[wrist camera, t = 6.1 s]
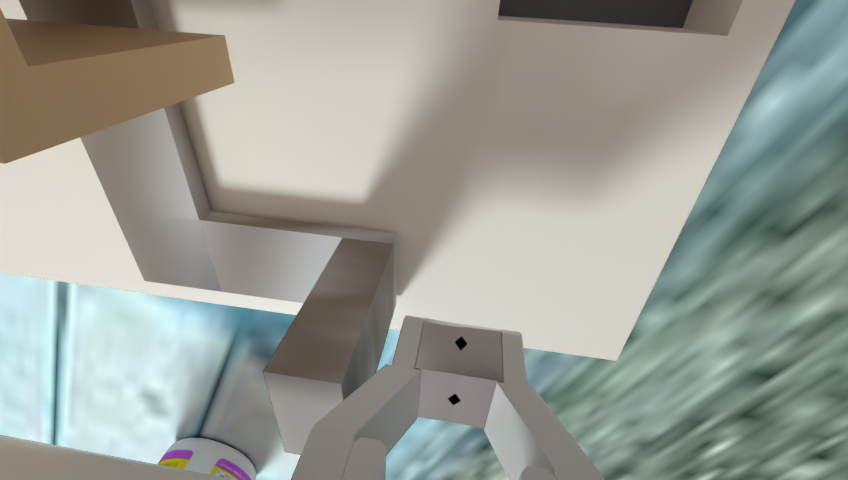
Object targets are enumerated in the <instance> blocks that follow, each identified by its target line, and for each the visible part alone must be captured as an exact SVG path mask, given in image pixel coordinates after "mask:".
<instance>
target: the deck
mask: <svg viewBox="0 0 848 480" xmlns="http://www.w3.org/2000/svg"><path fill="white" fill-rule="evenodd" d="M795 1H796V0H150V3H151V7H152V10H153V14H154V17H155V21H156V24H157V28H158V30H149V29H136V28H124V27H111V26H98V25H85V24H72V23H60V22H47V21H34V20H27V18H26V15H25V13H24V11H23V9H22V6H21V4H20V2H19V0H0V273H5V274H12V275H19V276H26V277H33V278H40V279H47V280H54V281H61V282H68V283H75V284H82V285H89V286H96V287H103V288H110V289H117V290H124V291H131V292H138V293H145V294H152V295H159V296H166V297H173V298H180V299H187V300H194V301H201V302H208V303H215V304H222V305H229V306H236V307H243V308H250V309H257V310H264V311H271V312H278V313H285V314H292V315H297V314H298V312H299V310H300V309H301V307H302V305H303V303H298V302H291V301H284V300H277V299H270V298H263V297H255V296H248V295H241V294H234V293H227V292H220V291H212V290H205V289H198V288H191V287H184V286H177V285H170V284H162V283H155V282H148V281H144V279H143V277H142V275H141V272H140V270H139V268H138V266H137V263H136V261H135V259H134V257H133V254H132V252H131V250H130V248H129V245H128V243H127V241H126V239H125V237H124V234H123V232H122V230H121V228H120V225H119V223H118V221H117V219H116V216H115V214H114V212H113V210H112V207H111V205H110V203H109V201H108V199H107V196H106V194H105V192H104V190H103V187H102V185H101V183H100V181H99V178H98V176H97V174H96V172H95V170H94V167H93V165H92V163H91V161H90V158H89V156H88V154H87V152H86V149H85V147H84V145H83V143H82V140H81V138H80V137H83V136H85V135H88V134H91V133H94V132H97V131H100V130H102V129H105V128H108V127H111V126H114V125H117V124H119V123H122V122H125V121H128V120H131V119H134V118H136V117H139V116H142V115H145V114H148V113H151V112H153V111H156V110H159V109H162V108H165V107H167V106H170V105H173V104H176V103H179V104H180V107H181V111H182V114H183V118H184V121H185V125H186V128H187V132H188V135H189V139H190V142H191V145H192V149H193V152H194V156H195V159H196V163H197V166H198V170H199V173H200V177H201V180H202V184H203V187H204V191H205V194H206V197H207V201H208V204H209V208H210V211H215V212H223V213H231V214H240V215H248V216H256V217H265V218H273V219H281V220H289V221H298V222H306V223H314V224H323V225H331V226H339V227H347V228H356V229H364V230H372V231H381V232H389V233H397V234H398V239H397V293H396V307H395V310H394V314H393V317H392V320H391V324H390V327H389V328H390V329H397V330H401V327H402V324H403V320H404V318H405V316H406V315H408V316H414V317H420V318H428V319H434V320H439V321H445V322H451V323H457V324H465V325H473V326H480V327H487V328H495V329H500V330H501V329H502V330H509V331H517V332H520V333H521V334H522V340H523V347H524V348H531V349H538V350H545V351H552V352H559V353H566V354H573V355H580V356H587V357H594V358H601V359H608V360H615V361H617V359H618V357H619V355H620V353H621V351H622V349H623V347H624V345H625V343H626V341H627V339H628V337H629V335H630V333H631V331H632V329H633V327H634V324H635V322H636V320H637V318H638V316H639V314H640V312H641V310H642V308H643V306H644V304H645V302H646V300H647V298H648V296H649V294H650V292H651V290H652V288H653V286H654V284H655V282H656V280H657V278H658V276H659V274H660V272H661V270H662V268H663V266H664V264H665V262H666V260H667V258H668V256H669V254H670V252H671V250H672V248H673V246H674V244H675V242H676V240H677V238H678V236H679V234H680V232H681V230H682V228H683V226H684V224H685V222H686V220H687V218H688V216H689V214H690V212H691V210H692V208H693V206H694V204H695V202H696V200H697V198H698V196H699V194H700V192H701V190H702V188H703V186H704V184H705V182H706V180H707V178H708V176H709V174H710V172H711V170H712V168H713V166H714V164H715V162H716V160H717V158H718V156H719V154H720V152H721V150H722V148H723V146H724V144H725V142H726V140H727V138H728V136H729V134H730V132H731V130H732V128H733V126H734V124H735V122H736V120H737V118H738V116H739V114H740V111H741V109H742V107H743V105H744V103H745V101H746V99H747V97H748V95H749V93H750V91H751V89H752V87H753V85H754V83H755V81H756V79H757V77H758V75H759V73H760V71H761V69H762V67H763V65H764V63H765V61H766V59H767V57H768V55H769V53H770V51H771V49H772V47H773V45H774V43H775V41H776V39H777V37H778V35H779V33H780V31H781V29H782V27H783V25H784V23H785V21H786V19H787V17H788V15H789V13H790V11H791V9H792V7H793V5H794V3H795Z"/></svg>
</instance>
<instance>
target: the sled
mask: <svg viewBox="0 0 848 480" xmlns="http://www.w3.org/2000/svg"><path fill="white" fill-rule="evenodd" d="M19 2H20V4H21V6H22V9H23V11H24V13H25V15H26V18H27V20H34V21H47V22H60V23H72V24H85V25H98V26H111V27H124V28H136V29H149V30H158V28H157V24H156V21H155V17H154V14H153V10H152V7H151V3H150V0H19ZM80 138H81V140H82V143H83V145H84V147H85V149H86V152H87V154H88V156H89V158H90V161H91V163H92V165H93V167H94V170H95V172H96V174H97V176H98V178H99V181H100V183H101V185H102V187H103V190H104V192H105V194H106V196H107V199H108V201H109V203H110V205H111V207H112V210H113V212H114V214H115V216H116V219H117V221H118V223H119V225H120V228H121V230H122V232H123V234H124V237H125V239H126V241H127V243H128V245H129V248H130V250H131V252H132V254H133V257H134V259H135V261H136V263H137V266H138V268H139V270H140V272H141V275H142V277H143V279H144V281H148V282H155V283H162V284H170V285H177V286H184V287H191V288H198V289H205V290H212V291H220V292H227V293H234V294H241V295H248V296H255V297H263V298H270V299H277V300H284V301H291V302H298V303H303V305H302V307H301V309H300V310H299V312H298V314H297V315H296V317H295V319H294V320H293V322H292V324H291V325H290V327H289V329H288V330H287V332H286V334H285V336H284V337H283V339H282V341H281V342H280V344H279V346H278V347H277V349H276V351H275V352H274V354H273V356H272V357H271V359H270V361H269V362H268V364H267V366H266V368H265V369H264V371H263V374H264V377H265V381H266V384H267V388H268V392H269V395H270V399H271V403H272V406H273V410H274V414H275V417H276V421H277V425H278V428H279V432H280V435H281V439H282V443H283V446H284V450H285V452H287V453H293V454H299V455H301V454H302V451H303V449H304V446H305V444H306V441H307V439H308V437H309V434H310V432H311V429H312V427H313V426H314V425H315V424H316V423H317V422H318V421H320V420H321V419H322V418H323V417H324V416H326V415H327V414H328V413H329V412H330V411H331V410H333V409H334V408H335V407H336V406H337V405H339V404H340V403H341V402H342V401H343V400H344V399H346V398H347V397H348V396H349V395H350V394H352V393H353V392H354V391H355V390H356V389H357V388H359V387H360V386H361V385H362V384H363V383H365V382H366V381H367V380H368V379H369V378H371V377H372V376H373V375H374V374H375V373H376V371H377V368H378V365H379V361H380V358H381V354H382V351H383V348H384V344H385V341H386V337H387V334H388V331H389V327H390V324H391V320H392V317H393V314H394V310H395V307H396V293H397V239H398V234H397V233H389V232H381V231H372V230H364V229H356V228H347V227H339V226H331V225H323V224H314V223H306V222H298V221H289V220H281V219H273V218H265V217H256V216H248V215H240V214H231V213H223V212H215V211H210V208H209V204H208V201H207V197H206V194H205V191H204V187H203V184H202V180H201V177H200V173H199V170H198V166H197V163H196V159H195V156H194V152H193V149H192V145H191V142H190V139H189V135H188V132H187V128H186V125H185V121H184V118H183V114H182V111H181V107H180V104H179V103H176V104H173V105H170V106H167V107H165V108H162V109H159V110H156V111H153V112H151V113H148V114H145V115H142V116H139V117H136V118H134V119H131V120H128V121H125V122H122V123H119V124H117V125H114V126H111V127H108V128H105V129H102V130H100V131H97V132H94V133H91V134H88V135H85V136H83V137H80Z"/></svg>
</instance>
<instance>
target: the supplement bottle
mask: <svg viewBox="0 0 848 480" xmlns="http://www.w3.org/2000/svg"><path fill="white" fill-rule="evenodd" d="M157 465H162V466H167V467H172V468H178V469H183V470H188V471H194V472H199V473H204V474H209V475H215V476H220V477H225V478H231V479H236V480H256V471H255V468H254V466H253V464H252V463H251V461H250V460H249V459H248V458H247V457H246V456H245V455H243V454H242V453H241V452H239V451H238V450H236V449H234V448H232V447H230V446H228V445H225V444H223V443H220V442H216V441H213V440H209V439H205V438H185V439H182V440H179V441H177V442H175V443H174V444H173V445H172V446H171V447H170V448H169V449H168V450H167V452H166V453H165V454H164V456H163V457H162V459H161V460H160V461H159V463H158V464H157Z"/></svg>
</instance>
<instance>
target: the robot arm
mask: <svg viewBox="0 0 848 480" xmlns="http://www.w3.org/2000/svg"><path fill="white" fill-rule="evenodd" d="M417 417H421V418H428V419H435V420H442V421H449V422H450V421H451V422H455V423H460V424H465V425H470V426H475V427H480V428H485V429H484V431H485V433H486V435H487V437H488V439H489V441H490V443H491V445H492V447H493V449H494V451H495V453H496V455H497V457H498V459H499V461H500V463H501V465H502V467H503V468H504V470H505V472H506V474H507V476H508V478H509V480H604V478H603V476H602V475H601V474H600V473H599V471H598V470H597V469H596V467H595V466H594V465H593V464H592V462H591V461H590V460H589V458H588V457H587V456H586V455H585V453H584V452H583V451H582V449H581V448H580V447H579V446H578V444H577V443H576V442H575V440H574V439H573V438H572V437H571V435H570V434H569V433H568V431H567V430H566V429H565V428H564V426H563V425H562V424H561V422H560V421H559V420H558V419H557V417H556V416H555V415H554V413H553V412H552V411H551V410H550V408H549V407H548V406H547V404H546V403H545V402H544V401H543V399H542V398H541V397H540V395H539V394H538V393H537V392H536V390H535V389H534V388H532V387H527V378H526V368H525V359H524V349H523V340H522V334H521V333H520V332H517V331H509V330H502V329H501V330H500V329H495V328H487V327H480V326H473V325H465V324H457V323H451V322H445V321H439V320H434V319H428V318H420V317H414V316H408V315H406V316H405V318H404V320H403V324H402V327H401V331H400V335H399V339H398V343H397V347H396V351H395V355H394V358H393V362H392V365H387V364H386V365H385V366H384V367H382V368H381V369H380V370H379V371H378V372H376V373H375V374H374V375H373V376H372V377H371V378H369V379H368V380H367V381H366V382H365V383H363V384H362V385H361V386H360V387H359V388H357V389H356V390H355V391H354V392H353V393H352V394H350V395H349V396H348V397H347V398H346V399H344V400H343V401H342V402H341V403H340V404H339V405H337V406H336V407H335V408H334V409H333V410H331V411H330V412H329V413H328V414H327V415H326V416H324V417H323V418H322V419H321V420H320V421H318V422H317V423H316V424H315V425H314V426H313V427H312V429H311V432H310V434H309V437H308V439H307V441H306V444H305V446H304V449H303V451H302V454H301V456H300V459H299V461H298V463H297V466H296V468H295V471H294V473H293V476H292V478H291V480H385V472H386V456H387V454H388V453H389V452H390V451H391V450H392V448H393V447H394V446H395V445H396V443H397V442H398V441H399V440H400V439H401V437H402V436H403V435H404V434H405V433H406V431H407V430H408V429H409V428H410V427H411V425H412V424H413V423H414V422H415V420H416V419H417ZM0 480H236V479H231V478H225V477H220V476H215V475H209V474H204V473H199V472H194V471H188V470H183V469H178V468H172V467H167V466H162V465H157V464H151V463H146V462H141V461H136V460H130V459H125V458H120V457H114V456H109V455H104V454H99V453H93V452H88V451H83V450H77V449H72V448H67V447H62V446H56V445H51V444H46V443H40V442H35V441H30V440H25V439H19V438H14V437H9V436H4V435H0Z"/></svg>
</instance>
